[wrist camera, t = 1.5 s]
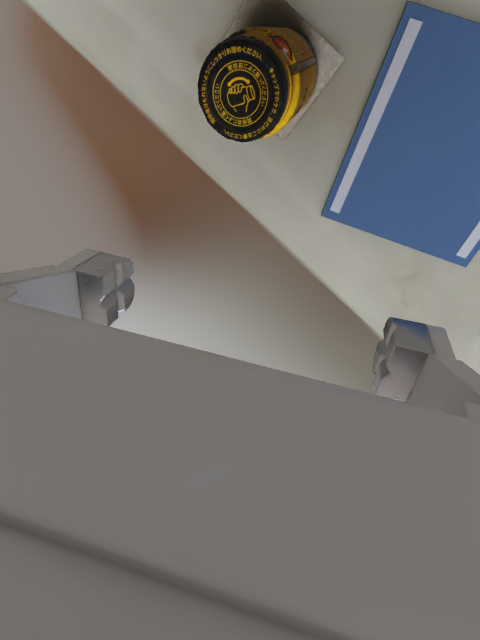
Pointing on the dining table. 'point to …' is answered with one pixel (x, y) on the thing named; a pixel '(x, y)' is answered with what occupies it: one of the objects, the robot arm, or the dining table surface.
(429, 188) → the napkin
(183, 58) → the dining table surface
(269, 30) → the condiment
